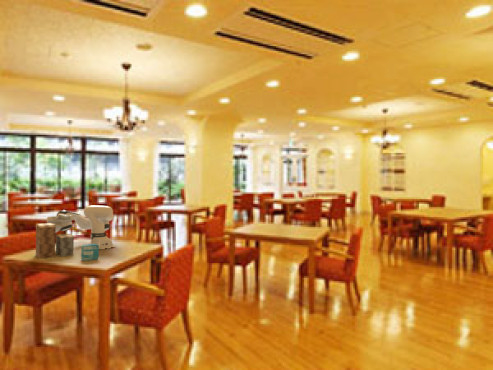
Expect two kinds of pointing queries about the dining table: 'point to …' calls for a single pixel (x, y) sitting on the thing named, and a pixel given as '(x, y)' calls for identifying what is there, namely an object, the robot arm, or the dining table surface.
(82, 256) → the data package
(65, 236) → the grey marbled block
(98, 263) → the dining table surface
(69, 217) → the sanding stick
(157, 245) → the dining table surface
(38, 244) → the tall stand
